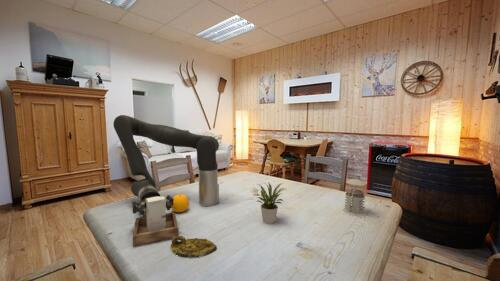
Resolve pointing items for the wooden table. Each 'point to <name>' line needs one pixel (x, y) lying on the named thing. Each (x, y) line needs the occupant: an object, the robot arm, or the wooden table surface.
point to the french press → (355, 198)
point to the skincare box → (156, 213)
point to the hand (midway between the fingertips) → (156, 210)
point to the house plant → (269, 203)
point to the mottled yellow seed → (191, 247)
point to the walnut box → (154, 236)
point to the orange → (180, 203)
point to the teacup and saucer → (256, 192)
